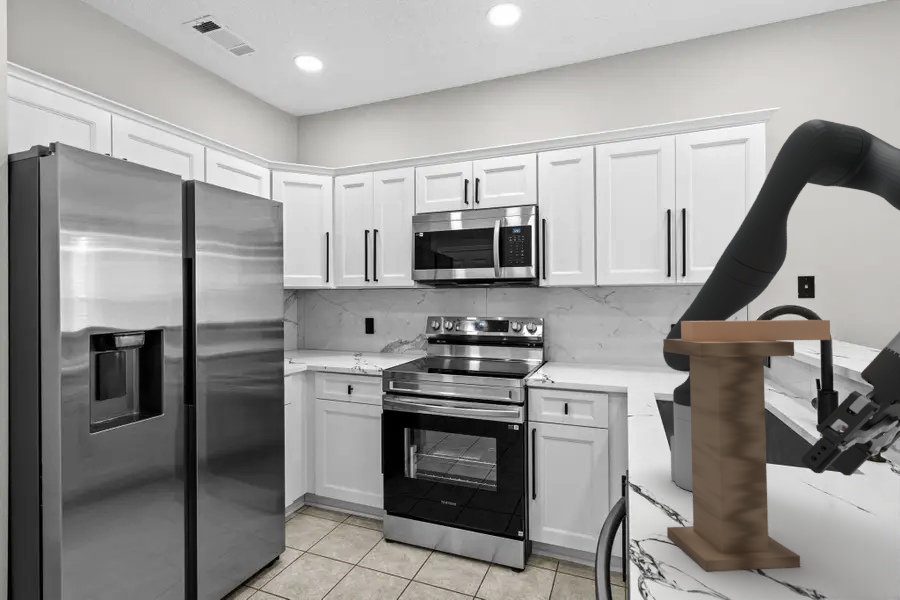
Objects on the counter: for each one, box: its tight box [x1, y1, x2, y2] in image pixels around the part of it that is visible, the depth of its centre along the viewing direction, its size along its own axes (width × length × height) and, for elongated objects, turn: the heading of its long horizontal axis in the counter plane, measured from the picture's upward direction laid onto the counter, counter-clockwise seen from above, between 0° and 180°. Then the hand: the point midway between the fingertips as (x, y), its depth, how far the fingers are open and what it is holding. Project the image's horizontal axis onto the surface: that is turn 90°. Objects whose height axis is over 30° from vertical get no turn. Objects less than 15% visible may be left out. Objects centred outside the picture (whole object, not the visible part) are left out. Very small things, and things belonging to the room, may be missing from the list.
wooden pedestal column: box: [662, 338, 801, 572], centre depth 70 cm, size 14×10×32 cm
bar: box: [681, 319, 831, 342], centre depth 71 cm, size 22×3×3 cm, turn 94°
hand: (824, 469), depth 56 cm, fingers open, 8 cm apart
